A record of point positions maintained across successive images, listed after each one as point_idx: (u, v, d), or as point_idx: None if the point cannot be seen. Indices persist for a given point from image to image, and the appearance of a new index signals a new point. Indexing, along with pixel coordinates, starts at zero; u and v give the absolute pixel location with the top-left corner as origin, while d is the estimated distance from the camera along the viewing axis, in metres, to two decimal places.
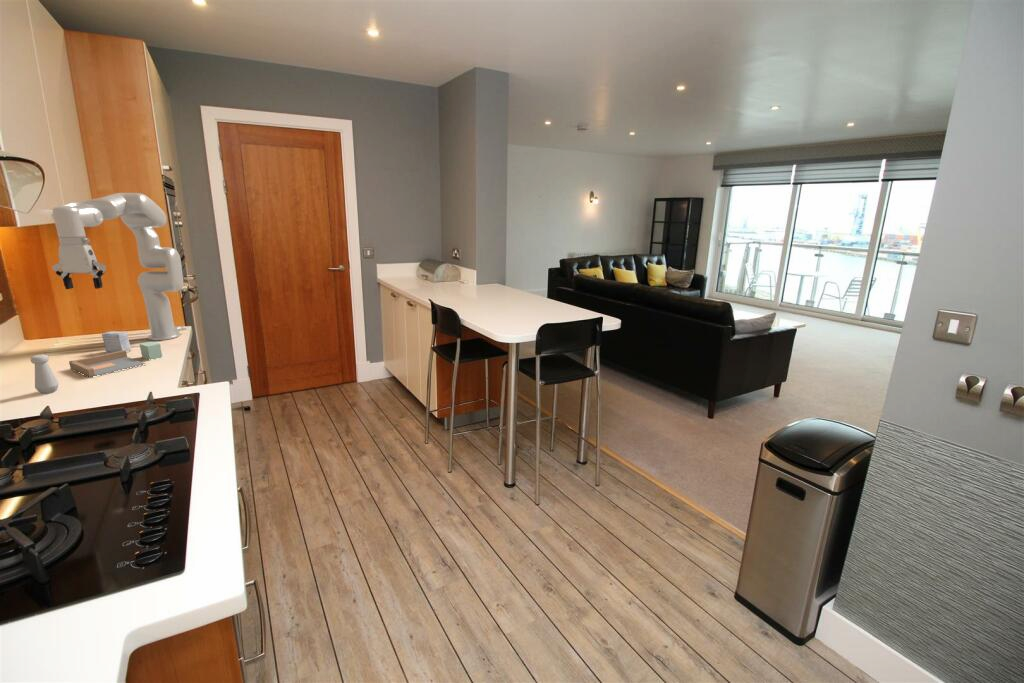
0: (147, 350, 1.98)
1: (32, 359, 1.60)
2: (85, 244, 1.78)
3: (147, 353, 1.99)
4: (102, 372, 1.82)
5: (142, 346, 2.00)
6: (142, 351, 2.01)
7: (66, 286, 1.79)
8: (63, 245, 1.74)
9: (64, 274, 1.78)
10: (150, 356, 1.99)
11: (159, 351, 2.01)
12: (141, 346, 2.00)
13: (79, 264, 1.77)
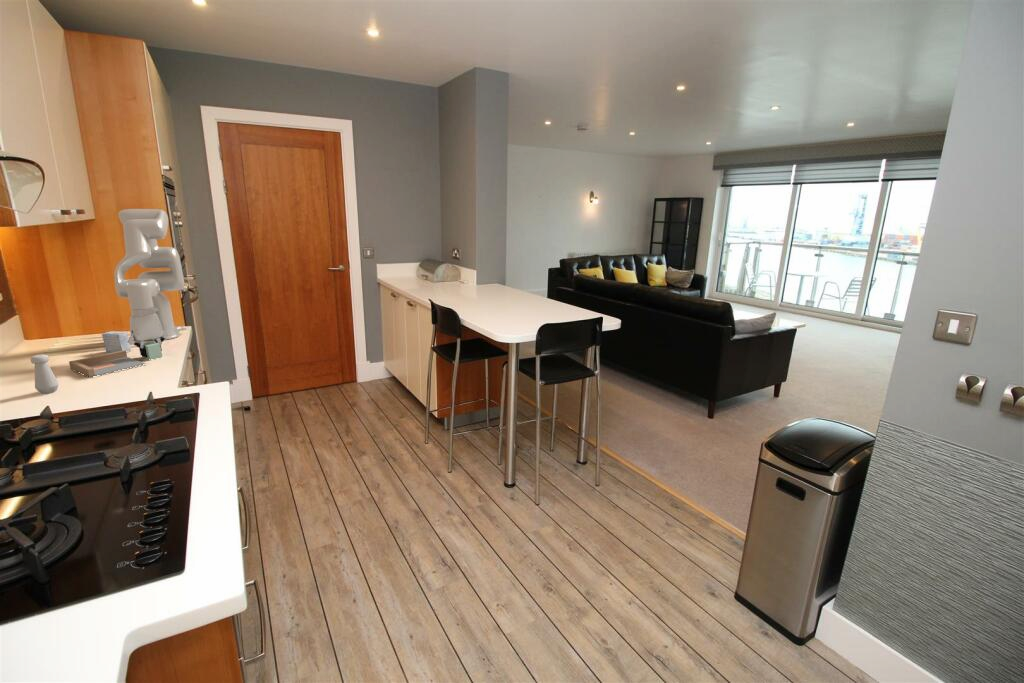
0: (147, 349, 1.98)
1: (32, 359, 1.60)
2: None
3: (147, 353, 1.99)
4: (102, 372, 1.82)
5: None
6: None
7: (146, 354, 1.99)
8: (144, 316, 1.95)
9: (142, 343, 1.97)
10: (150, 356, 1.99)
11: (159, 351, 2.01)
12: None
13: (154, 331, 1.99)
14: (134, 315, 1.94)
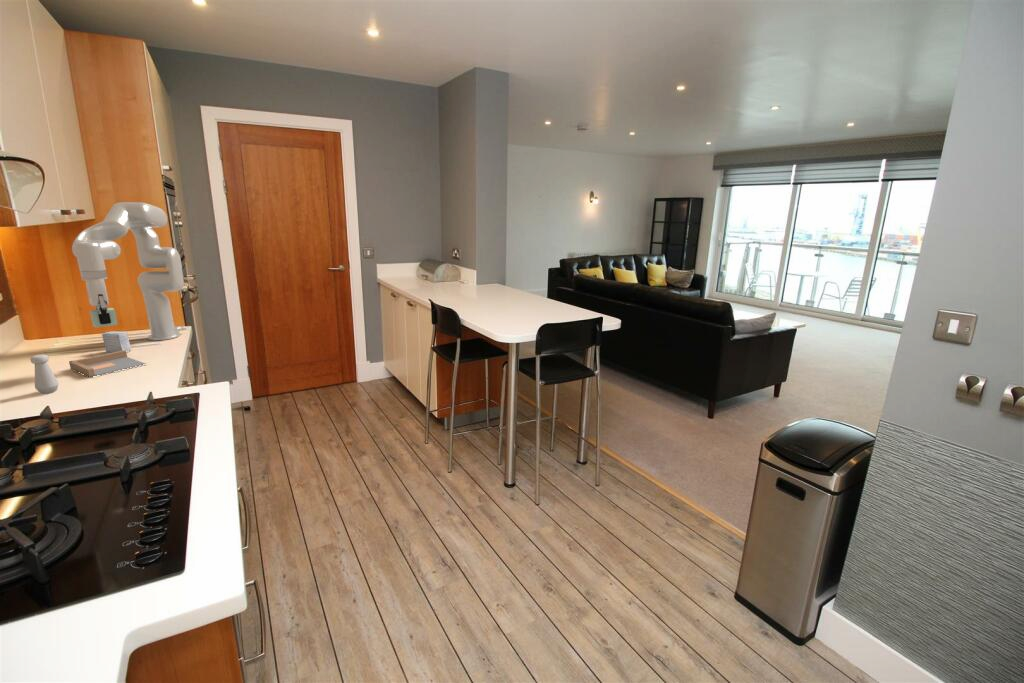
0: (112, 314, 1.87)
1: (32, 359, 1.60)
2: None
3: (110, 318, 1.87)
4: (102, 372, 1.82)
5: None
6: (98, 318, 1.84)
7: None
8: (107, 277, 1.84)
9: (107, 308, 1.85)
10: (116, 320, 1.88)
11: None
12: (96, 313, 1.83)
13: None
14: (99, 277, 1.81)
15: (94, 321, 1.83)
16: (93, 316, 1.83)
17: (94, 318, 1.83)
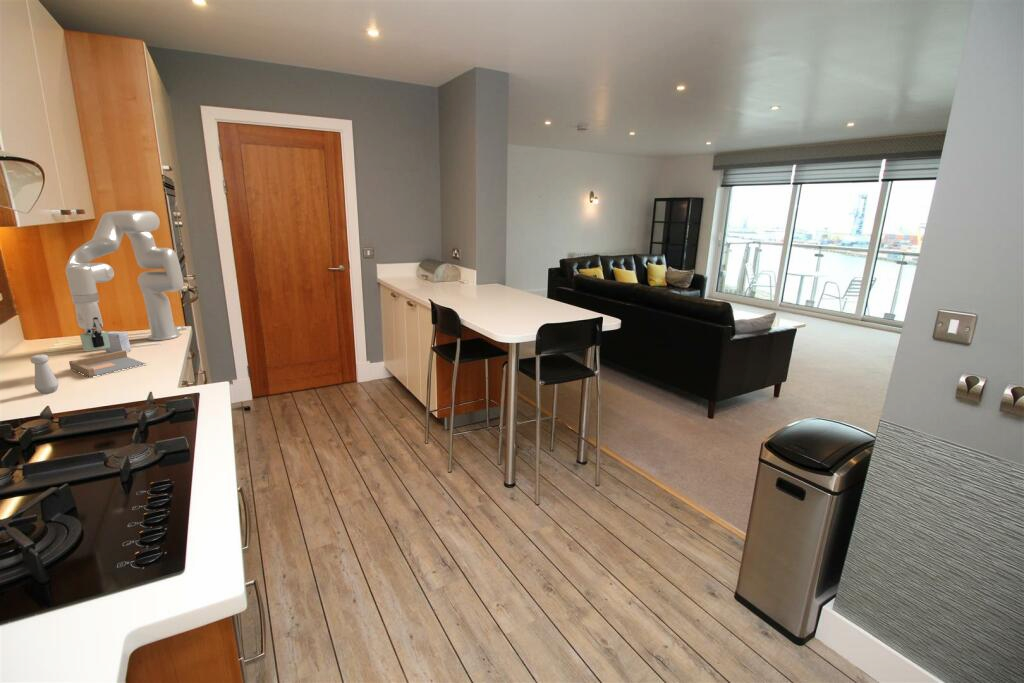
0: (105, 336, 1.86)
1: (32, 359, 1.60)
2: None
3: None
4: (102, 372, 1.82)
5: None
6: (92, 342, 1.83)
7: None
8: None
9: None
10: None
11: None
12: (89, 337, 1.82)
13: None
14: (93, 300, 1.81)
15: (87, 345, 1.82)
16: (86, 340, 1.82)
17: (87, 342, 1.82)
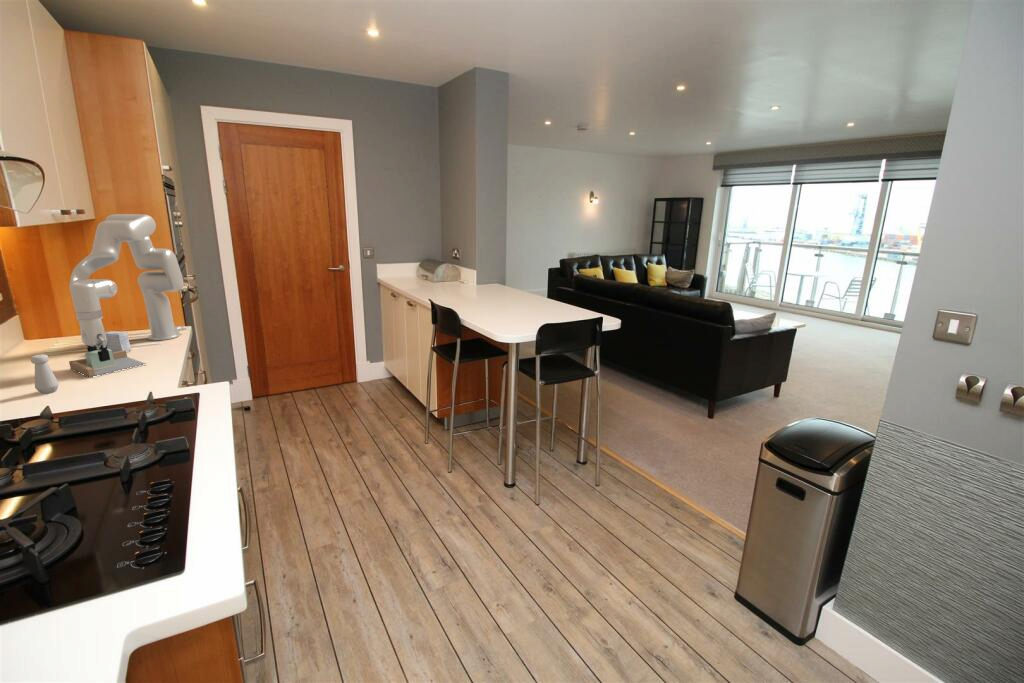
0: (109, 355, 1.89)
1: (32, 359, 1.60)
2: None
3: None
4: (102, 372, 1.82)
5: (97, 355, 1.85)
6: (96, 360, 1.86)
7: None
8: (102, 316, 1.86)
9: None
10: None
11: None
12: (94, 355, 1.85)
13: None
14: (97, 317, 1.83)
15: (92, 363, 1.85)
16: (91, 358, 1.84)
17: (92, 360, 1.84)
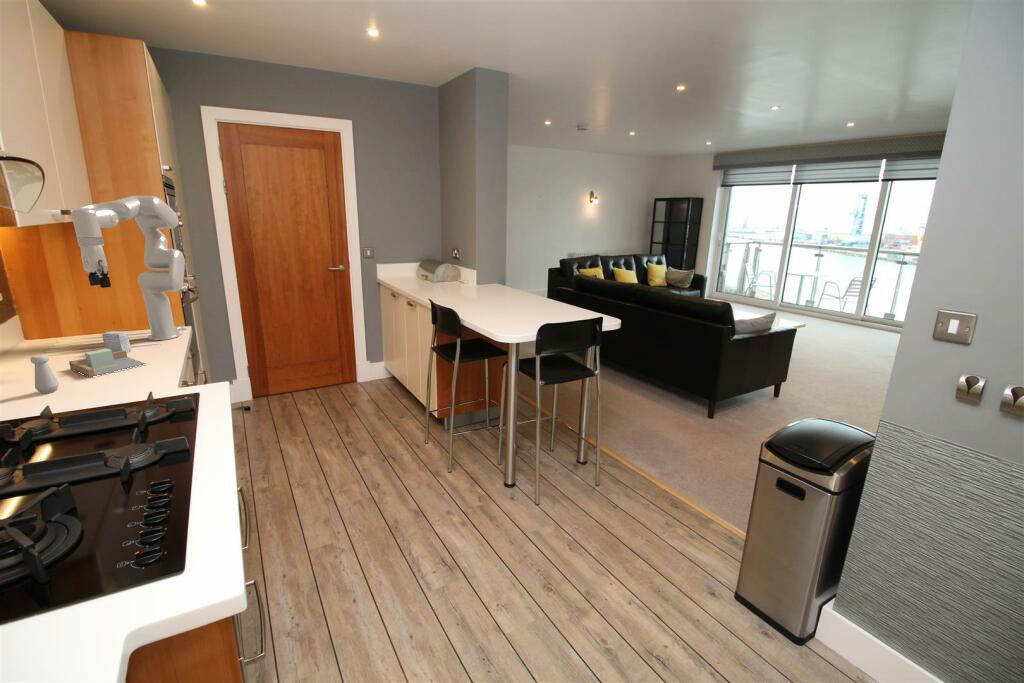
0: (109, 355, 1.89)
1: (32, 359, 1.60)
2: None
3: (108, 359, 1.89)
4: (102, 372, 1.82)
5: (97, 355, 1.85)
6: (96, 360, 1.86)
7: None
8: (103, 244, 1.89)
9: None
10: None
11: None
12: (94, 355, 1.85)
13: None
14: (98, 243, 1.86)
15: (92, 363, 1.85)
16: (91, 358, 1.84)
17: (92, 360, 1.84)
